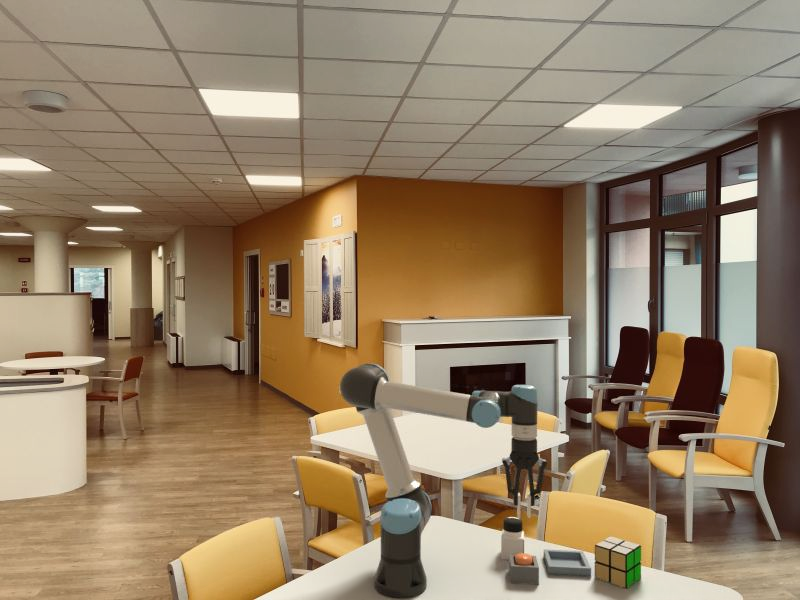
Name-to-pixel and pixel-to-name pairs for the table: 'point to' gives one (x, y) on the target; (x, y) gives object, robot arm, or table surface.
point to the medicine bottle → (512, 537)
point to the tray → (567, 563)
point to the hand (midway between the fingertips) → (523, 516)
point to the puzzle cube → (618, 561)
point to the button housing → (524, 572)
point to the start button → (523, 559)
